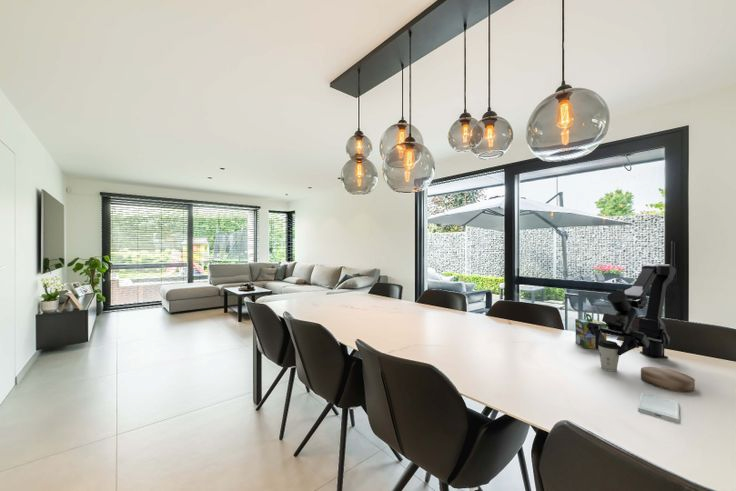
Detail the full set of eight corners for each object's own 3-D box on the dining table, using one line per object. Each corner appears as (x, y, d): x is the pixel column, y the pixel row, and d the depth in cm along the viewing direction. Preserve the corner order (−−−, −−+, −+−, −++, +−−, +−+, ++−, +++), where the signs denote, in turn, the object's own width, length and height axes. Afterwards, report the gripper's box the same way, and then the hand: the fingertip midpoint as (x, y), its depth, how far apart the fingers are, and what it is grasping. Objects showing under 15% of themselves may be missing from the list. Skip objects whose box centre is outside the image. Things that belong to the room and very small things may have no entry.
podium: (666, 375, 110) (666, 366, 110) (707, 392, 97) (707, 383, 97) (630, 374, 110) (630, 366, 110) (666, 392, 97) (666, 382, 97)
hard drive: (641, 392, 95) (637, 407, 86) (679, 402, 89) (679, 418, 80) (641, 397, 95) (637, 413, 86) (679, 407, 89) (679, 425, 80)
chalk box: (607, 350, 136) (607, 316, 136) (584, 348, 138) (584, 315, 138) (596, 343, 145) (596, 312, 145) (574, 342, 147) (574, 311, 147)
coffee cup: (625, 371, 113) (625, 344, 113) (612, 373, 111) (613, 346, 111) (605, 364, 120) (605, 338, 120) (593, 366, 117) (593, 340, 117)
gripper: (588, 301, 125) (571, 331, 121) (645, 310, 109) (628, 346, 104) (599, 319, 129) (583, 349, 124) (656, 330, 112) (640, 365, 107)
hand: (606, 351), depth 115 cm, fingers closed on coffee cup, 7 cm apart
